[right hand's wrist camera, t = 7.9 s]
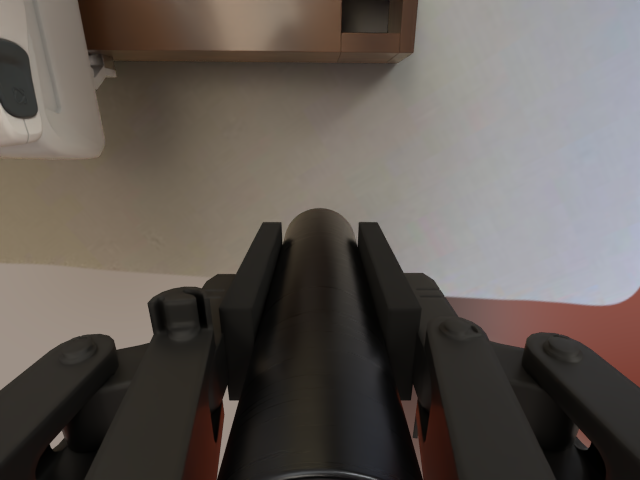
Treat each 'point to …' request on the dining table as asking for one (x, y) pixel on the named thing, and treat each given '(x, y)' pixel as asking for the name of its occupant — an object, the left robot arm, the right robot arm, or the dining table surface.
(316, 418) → the peg
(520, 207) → the dining table surface
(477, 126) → the dining table surface
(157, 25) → the peg rail
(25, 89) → the left robot arm
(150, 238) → the dining table surface
